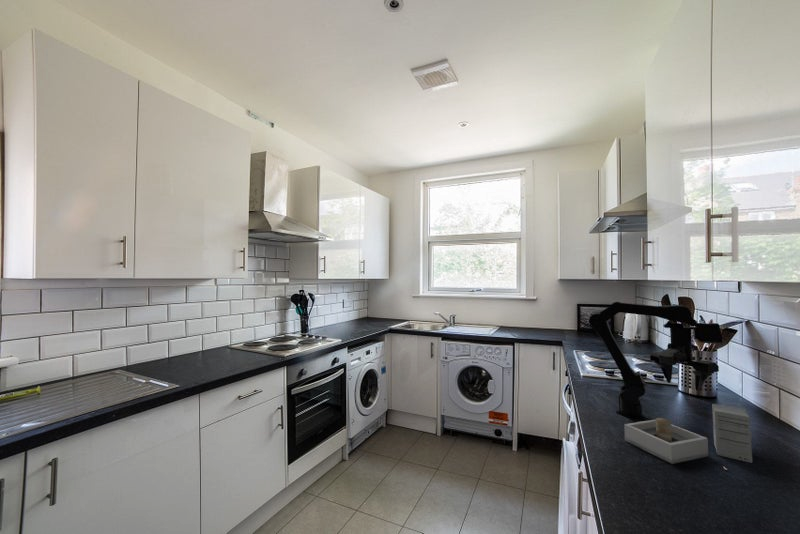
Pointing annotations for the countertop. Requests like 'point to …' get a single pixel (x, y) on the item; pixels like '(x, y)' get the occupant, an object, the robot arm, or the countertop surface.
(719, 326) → the robot arm
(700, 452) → the grey box
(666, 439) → the wooden peg
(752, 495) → the countertop surface
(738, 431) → the supplement box
